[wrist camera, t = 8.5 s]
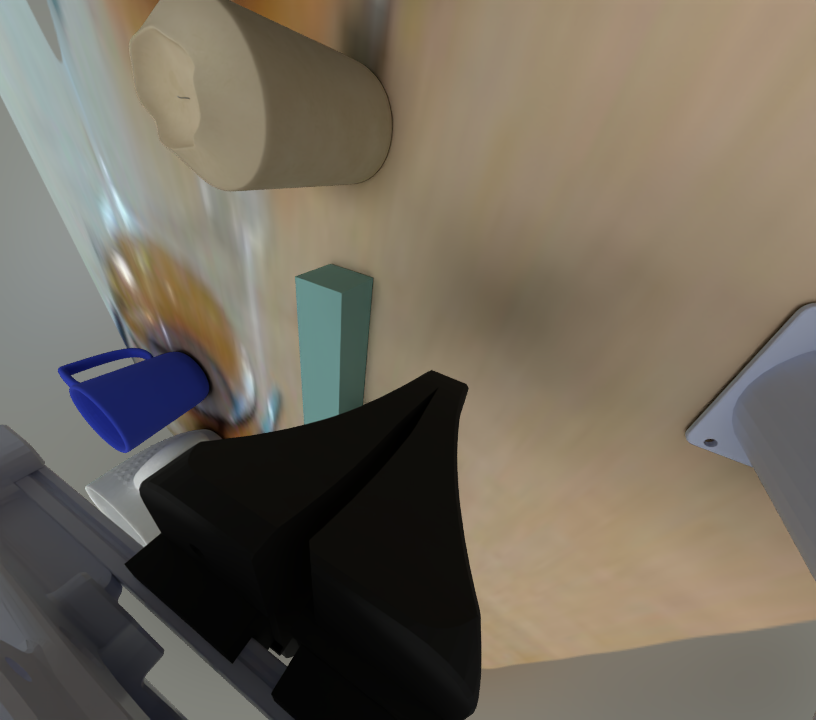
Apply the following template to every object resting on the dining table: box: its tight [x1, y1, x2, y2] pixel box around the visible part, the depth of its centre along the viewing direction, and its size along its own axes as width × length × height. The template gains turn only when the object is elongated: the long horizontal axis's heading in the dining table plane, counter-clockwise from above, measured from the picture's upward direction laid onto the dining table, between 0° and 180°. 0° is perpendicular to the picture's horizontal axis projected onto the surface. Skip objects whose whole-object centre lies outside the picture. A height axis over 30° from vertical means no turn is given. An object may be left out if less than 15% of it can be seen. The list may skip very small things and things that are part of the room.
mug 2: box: [85, 429, 222, 547], centre depth 41 cm, size 15×11×13 cm
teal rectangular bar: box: [295, 264, 373, 425], centre depth 27 cm, size 4×22×4 cm, turn 170°
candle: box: [129, 0, 392, 191], centre depth 14 cm, size 6×6×10 cm
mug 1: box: [58, 348, 209, 453], centre depth 36 cm, size 8×12×10 cm
